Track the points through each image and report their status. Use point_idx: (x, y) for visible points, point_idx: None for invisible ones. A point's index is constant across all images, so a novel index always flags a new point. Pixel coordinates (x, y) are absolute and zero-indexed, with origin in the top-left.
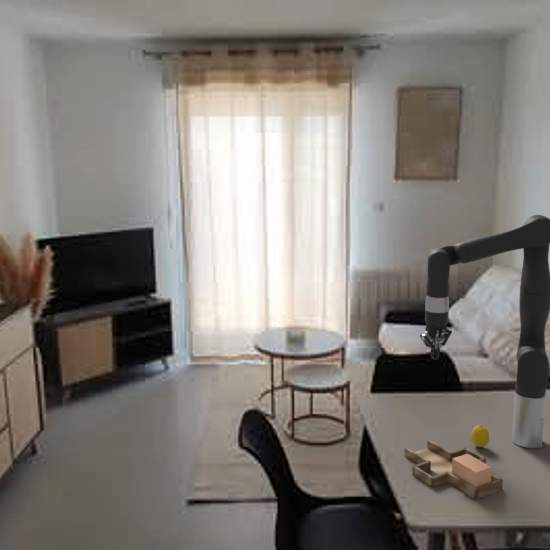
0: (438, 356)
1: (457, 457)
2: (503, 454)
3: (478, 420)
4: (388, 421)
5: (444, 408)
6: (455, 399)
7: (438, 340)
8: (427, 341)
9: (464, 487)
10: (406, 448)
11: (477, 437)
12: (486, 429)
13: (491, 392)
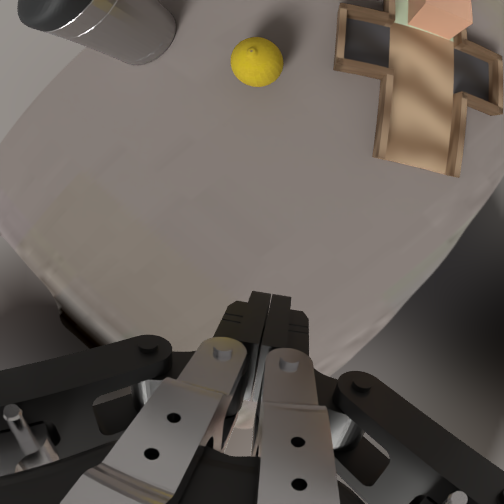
0: (257, 299)
1: (459, 15)
2: (243, 20)
3: (130, 175)
4: (321, 325)
5: (144, 276)
6: (91, 287)
7: (267, 420)
8: (468, 451)
9: None
10: (457, 173)
11: (280, 53)
12: (244, 41)
13: (20, 254)
